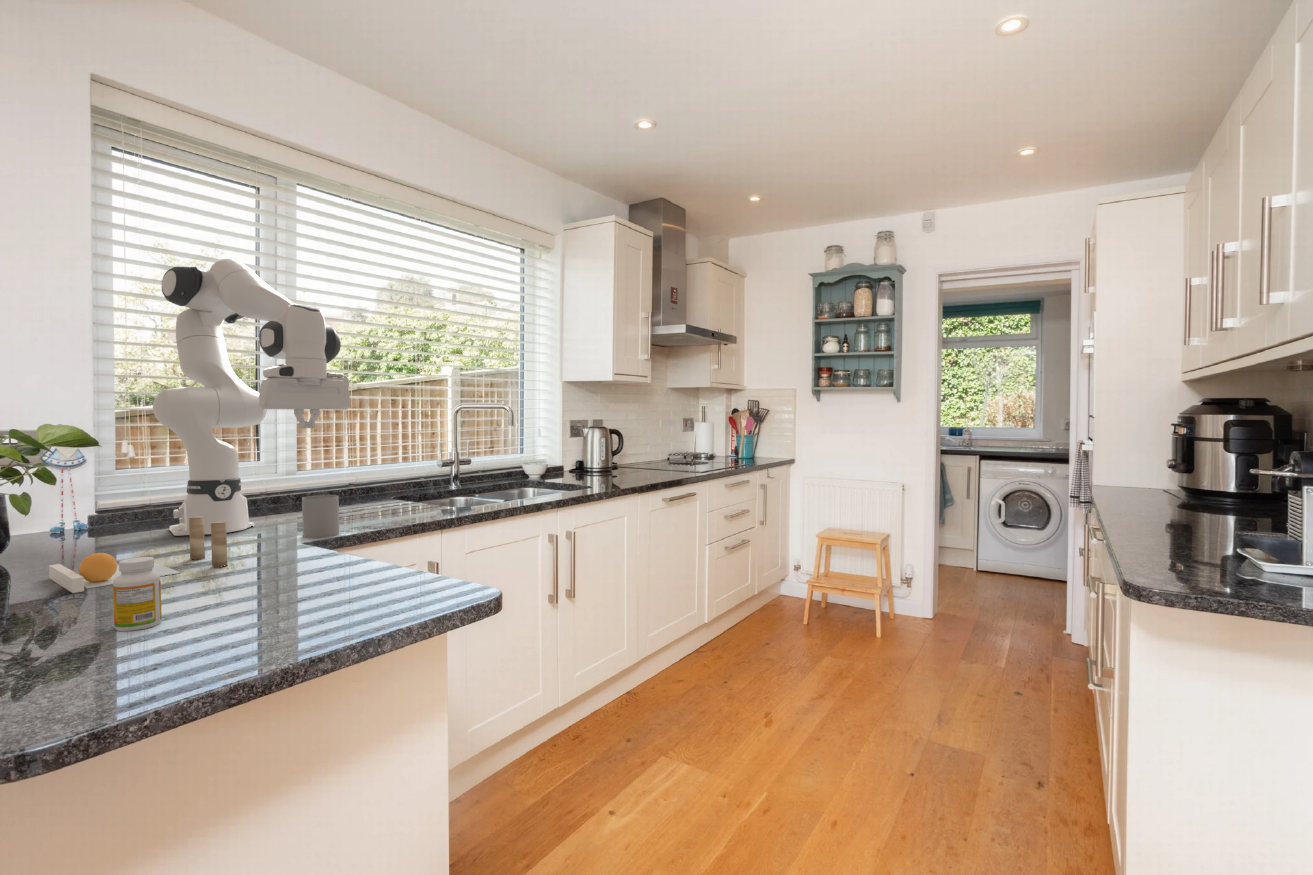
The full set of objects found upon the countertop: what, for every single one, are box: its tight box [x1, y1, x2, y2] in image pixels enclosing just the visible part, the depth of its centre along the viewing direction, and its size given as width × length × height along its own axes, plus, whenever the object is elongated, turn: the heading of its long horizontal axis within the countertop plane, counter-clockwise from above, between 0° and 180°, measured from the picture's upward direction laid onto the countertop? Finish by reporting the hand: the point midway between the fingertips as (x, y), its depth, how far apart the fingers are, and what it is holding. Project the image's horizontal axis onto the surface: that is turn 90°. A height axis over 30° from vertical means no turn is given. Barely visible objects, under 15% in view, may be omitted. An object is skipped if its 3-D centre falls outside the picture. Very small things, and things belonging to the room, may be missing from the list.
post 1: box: [189, 517, 206, 560], centre depth 140 cm, size 3×3×9 cm
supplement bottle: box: [112, 556, 163, 632], centre depth 93 cm, size 5×5×10 cm
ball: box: [78, 552, 118, 582], centre depth 120 cm, size 5×5×5 cm
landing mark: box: [84, 562, 181, 589], centre depth 125 cm, size 14×14×1 cm
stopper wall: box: [48, 563, 85, 594], centre depth 118 cm, size 18×2×2 cm, turn 53°
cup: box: [301, 494, 340, 539], centre depth 168 cm, size 8×8×10 cm
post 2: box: [210, 522, 228, 568], centre depth 132 cm, size 3×3×9 cm
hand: (307, 428), depth 157 cm, fingers closed
